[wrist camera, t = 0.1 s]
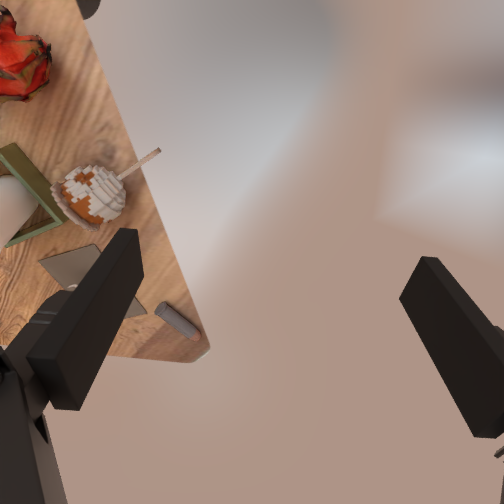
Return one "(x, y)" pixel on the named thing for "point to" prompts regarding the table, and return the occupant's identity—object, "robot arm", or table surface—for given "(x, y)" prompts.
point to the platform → (79, 271)
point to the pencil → (177, 321)
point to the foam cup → (13, 207)
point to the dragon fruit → (21, 62)
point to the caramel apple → (93, 194)
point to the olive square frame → (31, 192)
